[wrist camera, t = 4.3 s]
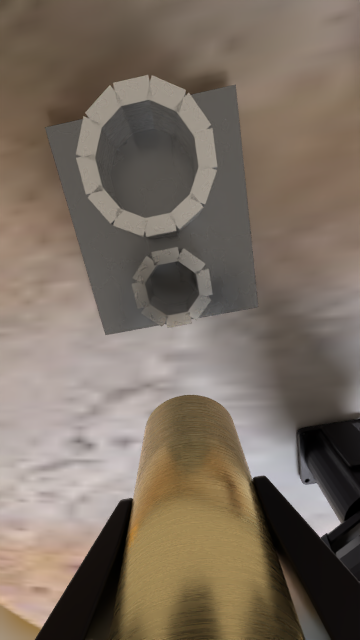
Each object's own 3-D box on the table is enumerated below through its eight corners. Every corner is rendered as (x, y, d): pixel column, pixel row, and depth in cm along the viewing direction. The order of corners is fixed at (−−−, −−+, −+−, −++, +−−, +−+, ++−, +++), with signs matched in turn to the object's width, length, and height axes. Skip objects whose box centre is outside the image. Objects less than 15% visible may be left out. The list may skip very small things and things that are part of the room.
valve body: (240, 461, 11) (379, 921, 4) (156, 475, 11) (115, 944, 4) (227, 387, 10) (390, 823, 2) (135, 404, 10) (13, 860, 3)
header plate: (253, 303, 19) (273, 317, 15) (109, 330, 20) (92, 350, 16) (231, 96, 16) (249, 43, 12) (54, 136, 16) (13, 98, 12)
